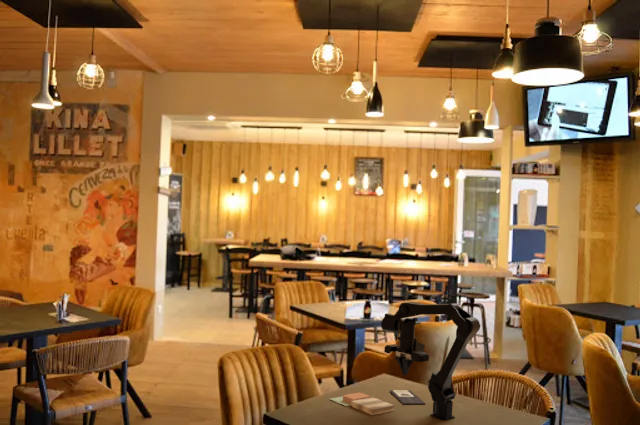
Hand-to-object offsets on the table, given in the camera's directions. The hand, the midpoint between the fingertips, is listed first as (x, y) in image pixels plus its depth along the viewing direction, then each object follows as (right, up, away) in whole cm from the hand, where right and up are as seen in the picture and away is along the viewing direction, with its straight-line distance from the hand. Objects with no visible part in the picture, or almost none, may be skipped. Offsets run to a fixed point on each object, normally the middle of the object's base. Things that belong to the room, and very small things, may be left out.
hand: (404, 375), depth 236 cm
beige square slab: (-13, -11, -5) cm, 18 cm away
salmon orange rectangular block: (-18, -11, +3) cm, 22 cm away
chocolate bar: (+2, -13, +12) cm, 18 cm away
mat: (-20, -11, +4) cm, 23 cm away
